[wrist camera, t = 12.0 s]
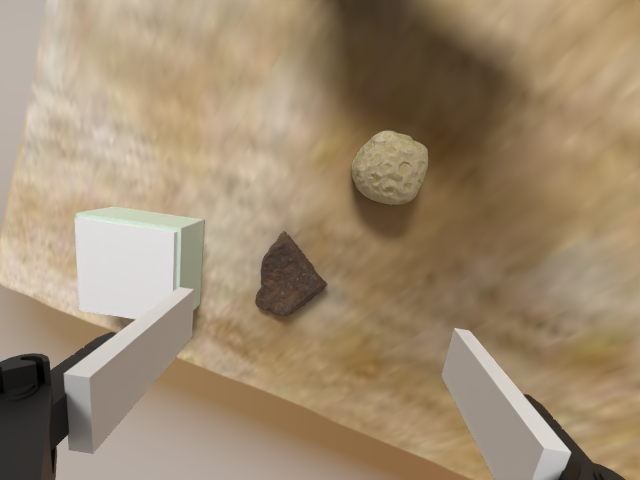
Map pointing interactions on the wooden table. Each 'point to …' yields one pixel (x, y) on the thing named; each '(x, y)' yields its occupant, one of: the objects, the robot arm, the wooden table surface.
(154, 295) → the scale
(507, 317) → the wooden table surface
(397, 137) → the decorative object
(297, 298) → the rock
